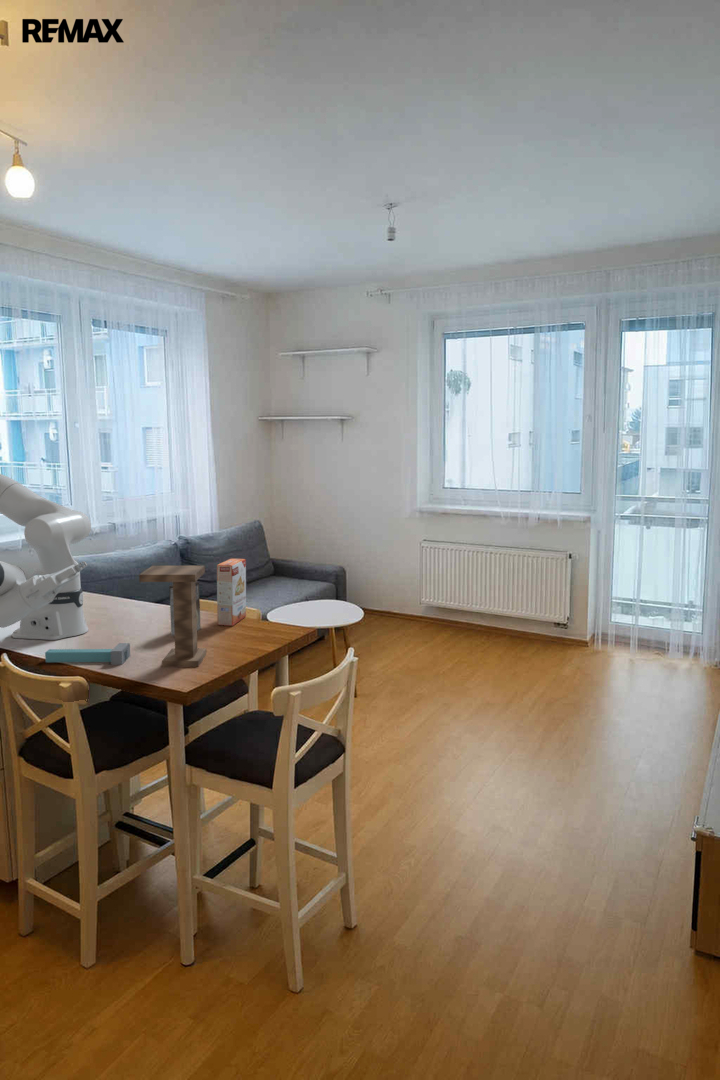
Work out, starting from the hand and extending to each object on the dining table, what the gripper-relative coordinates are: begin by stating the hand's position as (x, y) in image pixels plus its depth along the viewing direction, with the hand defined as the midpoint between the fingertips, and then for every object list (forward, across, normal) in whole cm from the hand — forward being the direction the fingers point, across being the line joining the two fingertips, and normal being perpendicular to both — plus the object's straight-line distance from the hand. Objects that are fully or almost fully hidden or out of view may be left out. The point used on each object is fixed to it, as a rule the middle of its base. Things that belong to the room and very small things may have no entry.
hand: (80, 566), depth 207 cm
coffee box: (+8, +25, +35) cm, 44 cm away
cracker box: (+19, +39, +42) cm, 60 cm away
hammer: (-12, -5, +24) cm, 27 cm away
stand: (+10, -5, +36) cm, 38 cm away
